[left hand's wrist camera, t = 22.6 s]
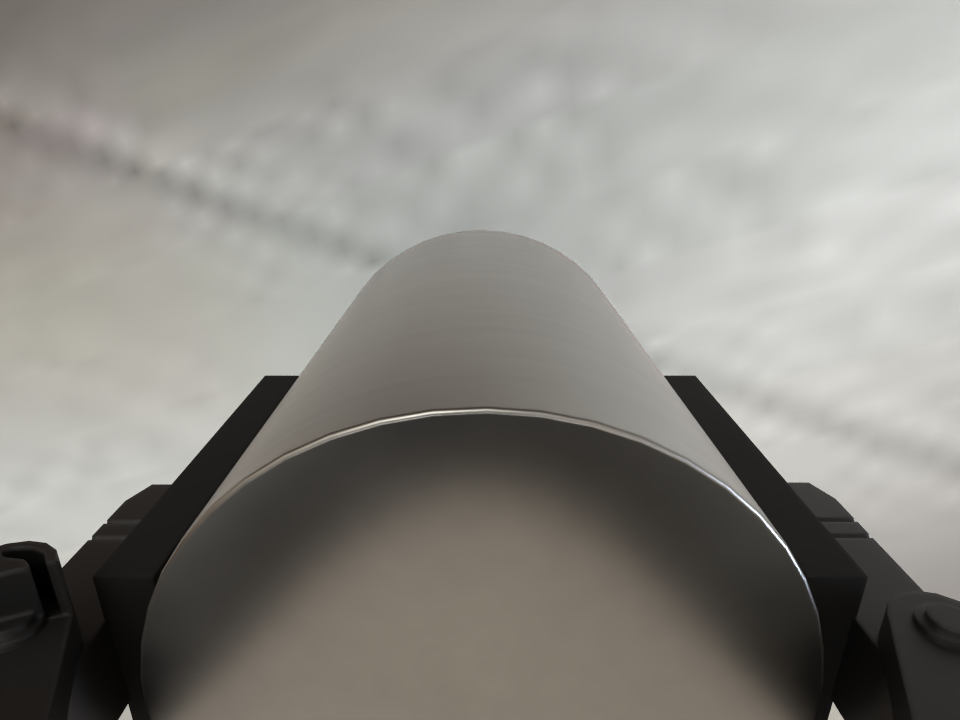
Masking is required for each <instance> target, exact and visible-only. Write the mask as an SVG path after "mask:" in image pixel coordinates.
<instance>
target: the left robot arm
mask: <svg viewBox="0 0 960 720" xmlns="http://www.w3.org/2000/svg"><path fill="white" fill-rule="evenodd" d="M298 377H299V376H265V377H264V378H263V379H262V380H261V381H260V382H259V384H258V385H257V386H256V387H255V388H254V389H253V391H252V392H251V393H250V394H249V395H248V396H247V398H246V399H245V400H244V401H243V402H242V403H241V405H240V406H239V407H238V408H237V409H236V410H235V412H234V413H233V414H232V415H231V416H230V417H229V419H228V420H227V421H226V422H225V423H224V424H223V425H222V427H221V428H220V429H219V430H218V431H217V432H216V434H215V435H214V436H213V437H212V438H211V439H210V441H209V442H208V443H207V444H206V445H205V446H204V448H203V449H202V450H201V451H200V452H199V453H198V455H197V456H196V457H195V458H194V459H193V460H192V462H191V463H190V464H189V465H188V466H187V467H186V469H185V470H184V471H183V472H182V473H181V474H180V476H179V477H178V478H177V479H176V480H175V481H174V483H173V484H172V485H151V486H149V487H148V488H146V489H144V490H143V491H141V492H139V493H138V494H136V495H134V496H133V497H131V498H130V499H128V500H126V501H125V502H124V503H123V504H122V505H121V506H120V507H119V508H118V509H117V510H116V512H115V513H114V514H113V515H112V516H111V517H110V518H109V519H108V520H107V524H103V525H102V526H101V527H100V528H99V530H98V531H97V532H96V533H95V534H94V535H93V536H92V540H88V541H87V542H86V543H85V544H84V545H83V546H82V548H81V549H80V550H79V551H78V552H77V553H76V554H75V555H74V556H73V557H72V558H71V559H70V560H69V561H68V562H67V563H66V564H65V566H64V567H63V568H62V567H61V564H60V561H59V557H58V554H57V551H56V549H54V548H53V547H51V546H50V545H48V544H47V543H42V542H33V541H25V542H17V543H9V544H4V545H1V546H0V720H118V719H119V717H120V716H121V714H122V713H123V711H124V709H125V708H126V706H127V704H129V708H130V711H131V715H132V718H133V720H149V717H148V714H147V711H146V706H145V700H144V694H143V688H142V682H141V640H142V635H143V630H144V625H145V620H146V615H147V609H148V605H149V603H150V600H151V598H152V595H153V592H154V590H155V587H156V585H157V582H158V580H159V577H160V575H161V572H162V570H163V569H164V567H165V565H166V564H167V562H168V561H169V559H170V557H171V556H172V554H173V552H174V551H175V549H176V548H177V546H178V544H179V543H180V541H181V539H182V538H183V536H184V535H185V534H186V532H187V531H188V530H189V528H190V527H191V525H192V524H193V523H194V521H195V520H196V518H197V517H198V516H199V514H200V513H201V512H202V510H203V509H204V507H205V506H206V505H207V503H208V502H209V500H210V499H211V498H212V496H213V495H214V494H215V492H216V491H217V489H218V488H219V487H220V485H221V484H222V482H223V481H224V480H225V478H226V477H227V476H228V474H229V473H230V471H231V470H232V469H233V467H234V466H235V464H236V463H237V462H238V460H239V459H240V458H241V456H242V455H243V453H244V452H245V451H246V449H247V448H248V446H249V445H250V444H251V442H252V441H253V440H254V438H255V437H256V435H257V434H258V433H259V431H260V430H261V428H262V427H263V426H264V424H265V423H266V422H267V420H268V419H269V417H270V416H271V415H272V413H273V412H274V410H275V409H276V408H277V406H278V405H279V404H280V402H281V401H282V399H283V398H284V397H285V395H286V394H287V392H288V391H289V390H290V388H291V387H292V386H293V384H294V383H295V381H296V380H297V379H298ZM664 377H665V378H666V380H667V381H668V383H669V384H670V385H671V387H672V388H673V389H674V391H675V392H676V393H677V395H678V396H679V398H680V399H681V400H682V402H683V403H684V404H685V406H686V407H687V409H688V410H689V411H690V413H691V414H692V415H693V417H694V418H695V419H696V421H697V422H698V424H699V425H700V426H701V428H702V429H703V430H704V432H705V433H706V435H707V436H708V437H709V439H710V440H711V441H712V443H713V444H714V445H715V447H716V448H717V450H718V451H719V452H720V454H721V455H722V456H723V458H724V459H725V461H726V462H727V463H728V465H729V466H730V467H731V469H732V470H733V471H734V473H735V474H736V476H737V477H738V478H739V480H740V481H741V482H742V484H743V485H744V487H745V488H746V489H747V491H748V492H749V493H750V495H751V496H752V497H753V499H754V500H755V502H756V503H757V504H758V506H759V507H760V508H761V510H762V511H763V513H764V514H765V515H766V517H767V518H768V519H769V521H770V522H771V523H772V525H773V526H774V528H775V529H776V530H777V532H778V533H779V534H780V536H781V537H782V539H783V540H784V541H785V543H786V544H787V546H788V548H789V549H790V551H791V553H792V555H793V556H794V558H795V560H796V562H797V563H798V565H799V567H800V568H801V570H802V572H803V574H804V575H805V577H806V580H807V583H808V585H809V588H810V591H811V594H812V597H813V599H814V602H815V605H816V608H817V611H818V615H819V621H820V628H821V634H822V640H823V646H824V672H823V687H822V692H821V697H820V702H819V707H818V712H817V716H816V719H815V720H828V716H829V713H830V709H831V706H832V702H834V704H835V705H836V707H837V709H838V710H839V712H840V714H841V715H842V717H843V718H844V720H960V601H957V600H954V599H951V598H948V597H945V596H942V595H939V594H936V593H929V592H923V590H922V589H921V588H920V587H919V586H918V585H917V584H916V583H915V582H914V581H913V580H912V579H911V578H910V577H909V576H908V575H907V574H906V573H905V572H904V570H903V569H902V568H901V567H900V566H899V565H898V564H897V563H896V562H895V561H894V560H893V559H892V558H891V557H890V556H889V555H888V554H887V553H886V552H885V551H884V549H883V548H882V547H881V546H880V545H879V544H878V543H877V542H876V541H875V540H874V539H873V538H869V534H868V533H867V532H866V531H865V529H864V528H863V527H862V526H861V525H860V524H859V523H858V522H854V518H853V517H852V516H851V515H850V514H849V513H848V512H847V511H846V510H845V508H844V507H843V506H842V505H841V504H840V503H839V502H838V501H837V500H836V499H835V498H833V497H831V496H830V495H828V494H826V493H825V492H823V491H821V490H820V489H818V488H817V487H815V486H813V485H812V484H810V483H787V482H786V481H785V480H784V479H783V477H782V476H781V475H780V474H779V473H778V472H777V470H776V469H775V468H774V467H773V466H772V465H771V463H770V462H769V461H768V460H767V459H766V458H765V456H764V455H763V454H762V453H761V452H760V451H759V449H758V448H757V447H756V446H755V445H754V444H753V442H752V441H751V440H750V439H749V438H748V437H747V435H746V434H745V433H744V432H743V431H742V430H741V428H740V427H739V426H738V425H737V424H736V423H735V421H734V420H733V419H732V418H731V417H730V416H729V414H728V413H727V412H726V411H725V410H724V409H723V408H722V406H721V405H720V404H719V403H718V402H717V401H716V399H715V398H714V397H713V396H712V395H711V394H710V392H709V391H708V390H707V389H706V388H705V387H704V385H703V384H702V383H701V382H700V381H699V380H698V378H697V377H696V376H664Z"/></svg>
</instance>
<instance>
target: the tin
mask: <svg viewBox="0 0 960 720" xmlns="http://www.w3.org/2000/svg"><path fill="white" fill-rule="evenodd" d="M823 672H824V646H823V640H822V634H821V628H820V621H819V615H818V611H817V608H816V605H815V602H814V599H813V597H812V594H811V591H810V588H809V585H808V583H807V580H806V577H805V575H804V574H803V572H802V570H801V568H800V567H799V565H798V563H797V562H796V560H795V558H794V556H793V555H792V553H791V551H790V549H789V548H788V546H787V544H786V543H785V541H784V540H783V539H782V537H781V536H780V534H779V533H778V532H777V530H776V529H775V528H774V526H773V525H772V523H771V522H770V521H769V519H768V518H767V517H766V515H765V514H764V513H763V511H762V510H761V508H760V507H759V506H758V504H757V503H756V502H755V500H754V499H753V497H752V496H751V495H750V493H749V492H748V491H747V489H746V488H745V487H744V485H743V484H742V482H741V481H740V480H739V478H738V477H737V476H736V474H735V473H734V471H733V470H732V469H731V467H730V466H729V465H728V463H727V462H726V461H725V459H724V458H723V456H722V455H721V454H720V452H719V451H718V450H717V448H716V447H715V445H714V444H713V443H712V441H711V440H710V439H709V437H708V436H707V435H706V433H705V432H704V430H703V429H702V428H701V426H700V425H699V424H698V422H697V421H696V419H695V418H694V417H693V415H692V414H691V413H690V411H689V410H688V409H687V407H686V406H685V404H684V403H683V402H682V400H681V399H680V398H679V396H678V395H677V393H676V392H675V391H674V389H673V388H672V387H671V385H670V384H669V383H668V381H667V380H666V378H665V377H664V376H663V374H662V373H661V372H660V370H659V369H658V367H657V366H656V365H655V363H654V362H653V361H652V359H651V358H650V357H649V355H648V354H647V352H646V351H645V350H644V348H643V347H642V346H641V344H640V343H639V341H638V340H637V339H636V337H635V336H634V335H633V333H632V332H631V331H630V329H629V328H628V326H627V325H626V324H625V322H624V321H623V320H622V318H621V317H620V315H619V314H618V313H617V311H616V310H615V309H614V307H613V306H612V305H611V303H610V302H609V300H608V299H607V298H606V296H605V295H604V294H603V292H602V291H601V290H600V288H599V287H598V286H597V285H596V283H595V282H594V281H593V280H592V279H591V277H590V276H589V275H588V274H587V273H586V272H585V271H583V270H582V269H581V268H580V267H579V266H578V265H577V264H576V263H575V262H573V261H572V260H570V259H569V258H567V257H566V256H565V255H563V254H562V253H560V252H559V251H557V250H555V249H553V248H551V247H549V246H547V245H545V244H543V243H541V242H538V241H535V240H532V239H529V238H527V237H524V236H520V235H515V234H510V233H506V232H496V231H483V230H482V231H464V232H458V233H452V234H447V235H442V236H439V237H436V238H433V239H430V240H427V241H424V242H422V243H420V244H418V245H416V246H414V247H412V248H410V249H407V250H405V251H404V252H402V253H401V254H399V255H398V256H396V257H395V258H393V259H392V260H391V261H389V262H388V263H387V264H386V265H385V266H383V267H382V268H381V269H380V270H379V271H378V272H377V273H376V274H374V276H373V277H372V278H371V279H370V280H369V282H368V283H367V284H366V285H365V286H364V287H363V289H362V290H361V291H360V293H359V294H358V296H357V297H356V298H355V300H354V301H353V302H352V304H351V305H350V307H349V308H348V309H347V311H346V312H345V314H344V315H343V316H342V318H341V319H340V320H339V322H338V323H337V325H336V326H335V327H334V329H333V330H332V332H331V333H330V334H329V336H328V337H327V338H326V340H325V341H324V343H323V344H322V345H321V347H320V348H319V350H318V351H317V352H316V354H315V355H314V356H313V358H312V359H311V361H310V362H309V363H308V365H307V366H306V368H305V369H304V370H303V372H302V373H301V374H300V376H299V377H298V379H297V380H296V381H295V383H294V384H293V386H292V387H291V388H290V390H289V391H288V392H287V394H286V395H285V397H284V398H283V399H282V401H281V402H280V404H279V405H278V406H277V408H276V409H275V410H274V412H273V413H272V415H271V416H270V417H269V419H268V420H267V422H266V423H265V424H264V426H263V427H262V428H261V430H260V431H259V433H258V434H257V435H256V437H255V438H254V440H253V441H252V442H251V444H250V445H249V446H248V448H247V449H246V451H245V452H244V453H243V455H242V456H241V458H240V459H239V460H238V462H237V463H236V464H235V466H234V467H233V469H232V470H231V471H230V473H229V474H228V476H227V477H226V478H225V480H224V481H223V482H222V484H221V485H220V487H219V488H218V489H217V491H216V492H215V494H214V495H213V496H212V498H211V499H210V500H209V502H208V503H207V505H206V506H205V507H204V509H203V510H202V512H201V513H200V514H199V516H198V517H197V518H196V520H195V521H194V523H193V524H192V525H191V527H190V528H189V530H188V531H187V532H186V534H185V535H184V536H183V538H182V539H181V541H180V543H179V544H178V546H177V548H176V549H175V551H174V552H173V554H172V556H171V557H170V559H169V561H168V562H167V564H166V565H165V567H164V569H163V570H162V572H161V575H160V577H159V580H158V582H157V585H156V587H155V590H154V592H153V595H152V598H151V600H150V603H149V605H148V609H147V615H146V620H145V625H144V630H143V635H142V640H141V682H142V688H143V694H144V700H145V706H146V711H147V714H148V717H149V720H815V719H816V716H817V712H818V707H819V702H820V697H821V692H822V687H823Z"/></svg>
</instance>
